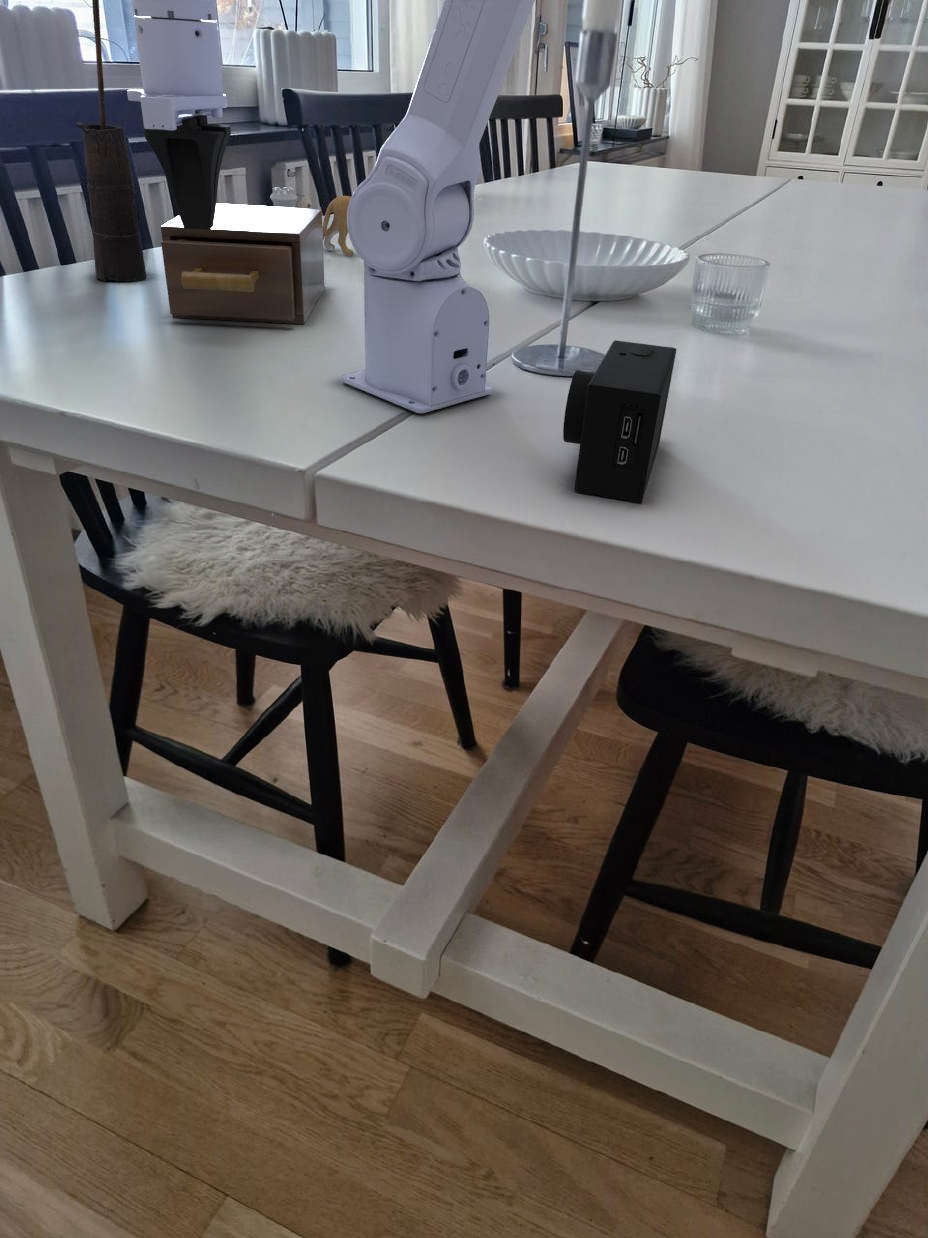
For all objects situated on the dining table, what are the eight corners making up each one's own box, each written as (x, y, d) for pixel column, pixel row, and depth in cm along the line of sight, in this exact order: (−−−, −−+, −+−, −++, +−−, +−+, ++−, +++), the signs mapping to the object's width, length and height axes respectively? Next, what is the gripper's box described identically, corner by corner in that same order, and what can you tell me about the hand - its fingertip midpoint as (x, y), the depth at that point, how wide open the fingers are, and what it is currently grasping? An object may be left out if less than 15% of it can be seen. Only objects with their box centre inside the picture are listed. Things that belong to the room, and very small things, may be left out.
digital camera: (583, 433, 63) (596, 335, 59) (659, 444, 62) (677, 345, 58) (555, 489, 54) (567, 379, 50) (641, 504, 53) (661, 392, 49)
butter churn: (89, 293, 89) (28, -50, 74) (55, 274, 95) (-9, -47, 79) (174, 283, 94) (133, -39, 79) (136, 266, 100) (91, -36, 85)
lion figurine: (420, 250, 117) (422, 175, 112) (427, 258, 112) (429, 181, 108) (310, 248, 114) (307, 172, 109) (313, 257, 109) (310, 177, 104)
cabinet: (304, 324, 83) (299, 233, 79) (172, 317, 83) (160, 225, 78) (324, 289, 95) (321, 209, 91) (209, 283, 95) (201, 202, 91)
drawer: (285, 333, 77) (280, 258, 74) (156, 326, 77) (145, 251, 73) (314, 287, 92) (311, 223, 88) (206, 282, 92) (199, 217, 88)
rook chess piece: (298, 265, 105) (294, 192, 101) (263, 261, 106) (258, 189, 101) (310, 258, 109) (307, 187, 104) (277, 254, 109) (272, 184, 105)
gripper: (150, 20, 67) (173, 210, 75) (81, 13, 55) (117, 241, 63) (241, 25, 68) (255, 215, 75) (192, 19, 55) (215, 246, 63)
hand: (198, 227), depth 69 cm, fingers closed
